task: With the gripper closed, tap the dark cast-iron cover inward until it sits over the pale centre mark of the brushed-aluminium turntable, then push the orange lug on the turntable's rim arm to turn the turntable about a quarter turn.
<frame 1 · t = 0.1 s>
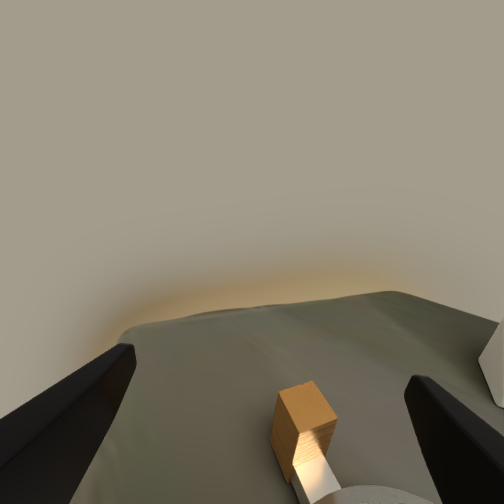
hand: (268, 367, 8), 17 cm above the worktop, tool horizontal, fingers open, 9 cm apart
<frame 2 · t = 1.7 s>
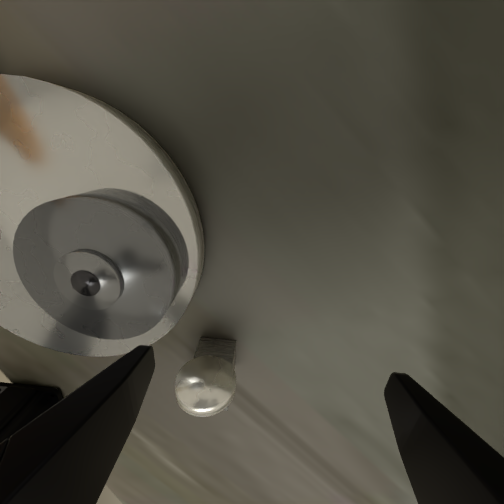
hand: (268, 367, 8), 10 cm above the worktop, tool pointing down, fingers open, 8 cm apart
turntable: (11, 214, 14), point 4 cm above the worktop, hinge at 0.0°, touching cover
cover: (124, 254, 15), point 3 cm above the worktop, touching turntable
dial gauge: (218, 352, 21), on the worktop
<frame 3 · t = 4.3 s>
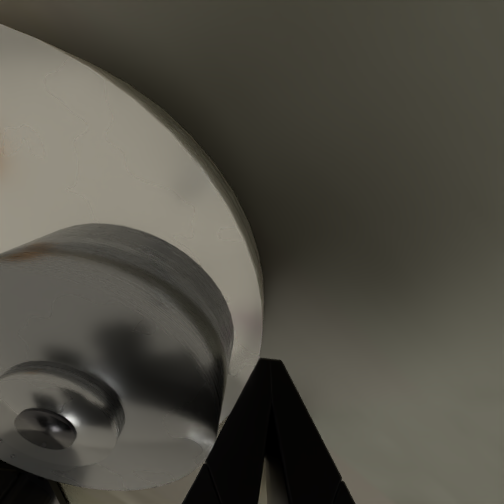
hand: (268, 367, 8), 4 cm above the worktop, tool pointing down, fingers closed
cover: (126, 327, 9), point 3 cm above the worktop, touching gripper
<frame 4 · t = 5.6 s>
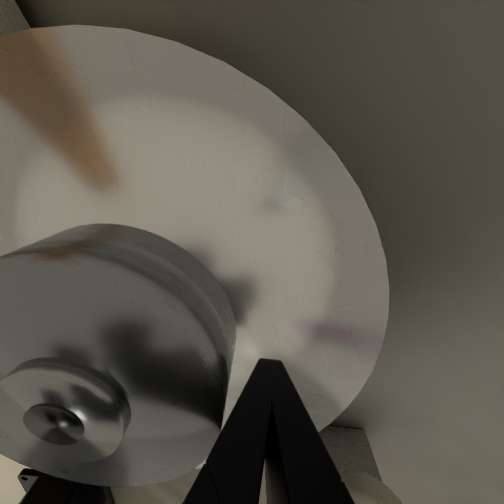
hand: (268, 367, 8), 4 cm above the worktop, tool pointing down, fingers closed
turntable: (79, 291, 7), point 4 cm above the worktop, hinge at 0.1°, touching cover
cover: (130, 326, 9), point 3 cm above the worktop, touching gripper, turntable
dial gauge: (334, 442, 15), on the worktop
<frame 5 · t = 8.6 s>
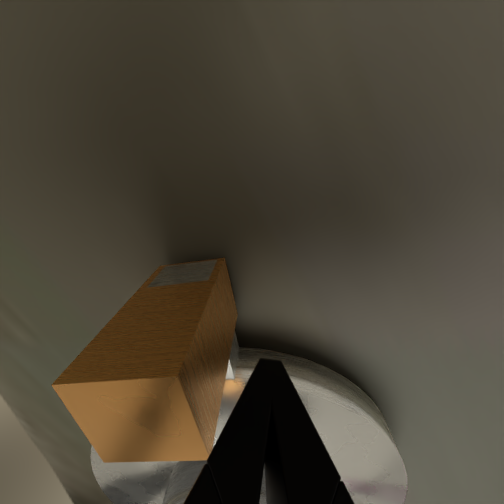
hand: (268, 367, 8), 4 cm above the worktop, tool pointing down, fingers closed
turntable: (233, 489, 12), point 4 cm above the worktop, hinge at 3.3°, touching cover, gripper
cover: (238, 488, 14), point 3 cm above the worktop, touching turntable
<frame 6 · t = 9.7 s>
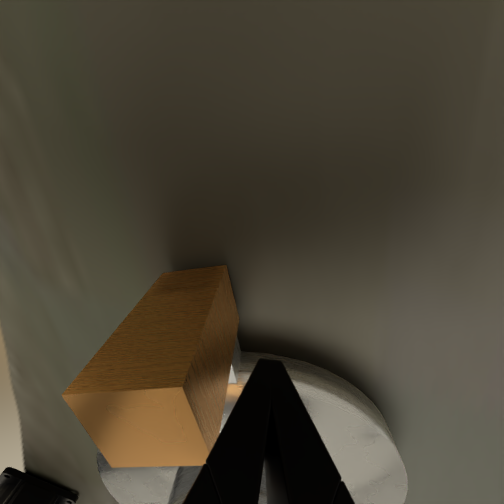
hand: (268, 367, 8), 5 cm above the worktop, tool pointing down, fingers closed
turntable: (236, 490, 13), point 4 cm above the worktop, hinge at 24.0°, touching cover, gripper
cover: (242, 488, 15), point 3 cm above the worktop, touching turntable
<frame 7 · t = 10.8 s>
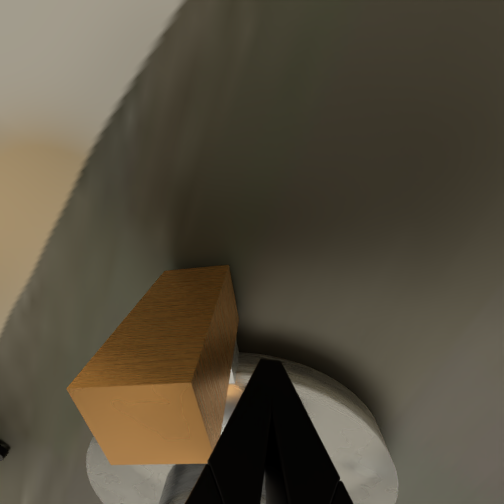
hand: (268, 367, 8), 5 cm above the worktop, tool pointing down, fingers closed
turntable: (229, 493, 13), point 4 cm above the worktop, hinge at 45.9°, touching cover, gripper
cover: (233, 491, 14), point 3 cm above the worktop, touching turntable
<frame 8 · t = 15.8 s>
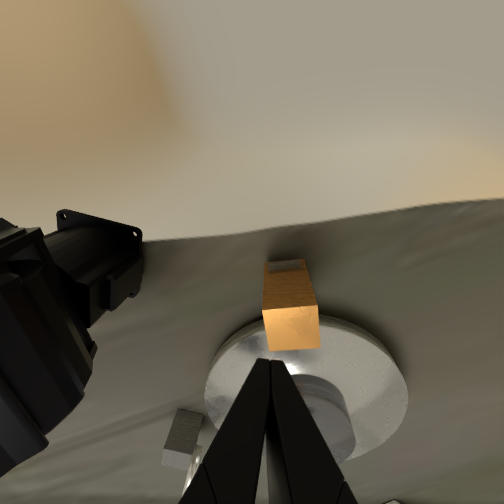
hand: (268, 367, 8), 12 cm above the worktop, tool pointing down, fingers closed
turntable: (301, 399, 20), point 4 cm above the worktop, hinge at 88.3°, touching cover
cover: (299, 405, 22), point 3 cm above the worktop, touching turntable
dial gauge: (188, 419, 28), on the worktop
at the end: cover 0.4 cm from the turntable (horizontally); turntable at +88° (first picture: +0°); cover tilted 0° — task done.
